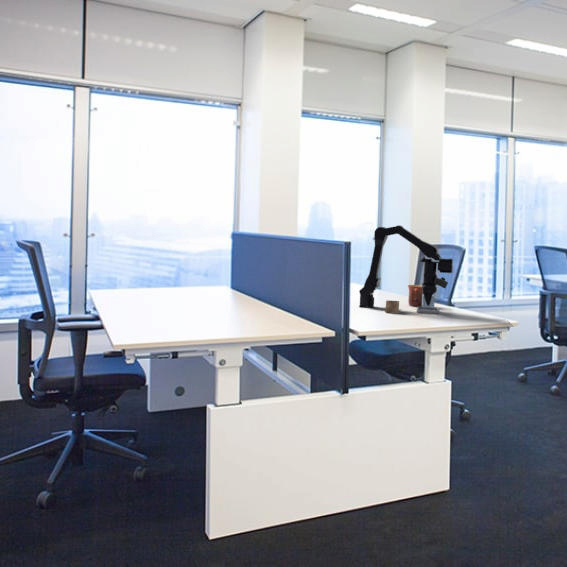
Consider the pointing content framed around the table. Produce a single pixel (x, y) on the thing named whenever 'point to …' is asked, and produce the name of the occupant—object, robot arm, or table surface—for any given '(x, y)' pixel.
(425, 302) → the blue-gray cube
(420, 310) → the tray
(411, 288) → the mug
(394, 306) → the open wooden cubby box
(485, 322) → the table surface
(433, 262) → the robot arm
